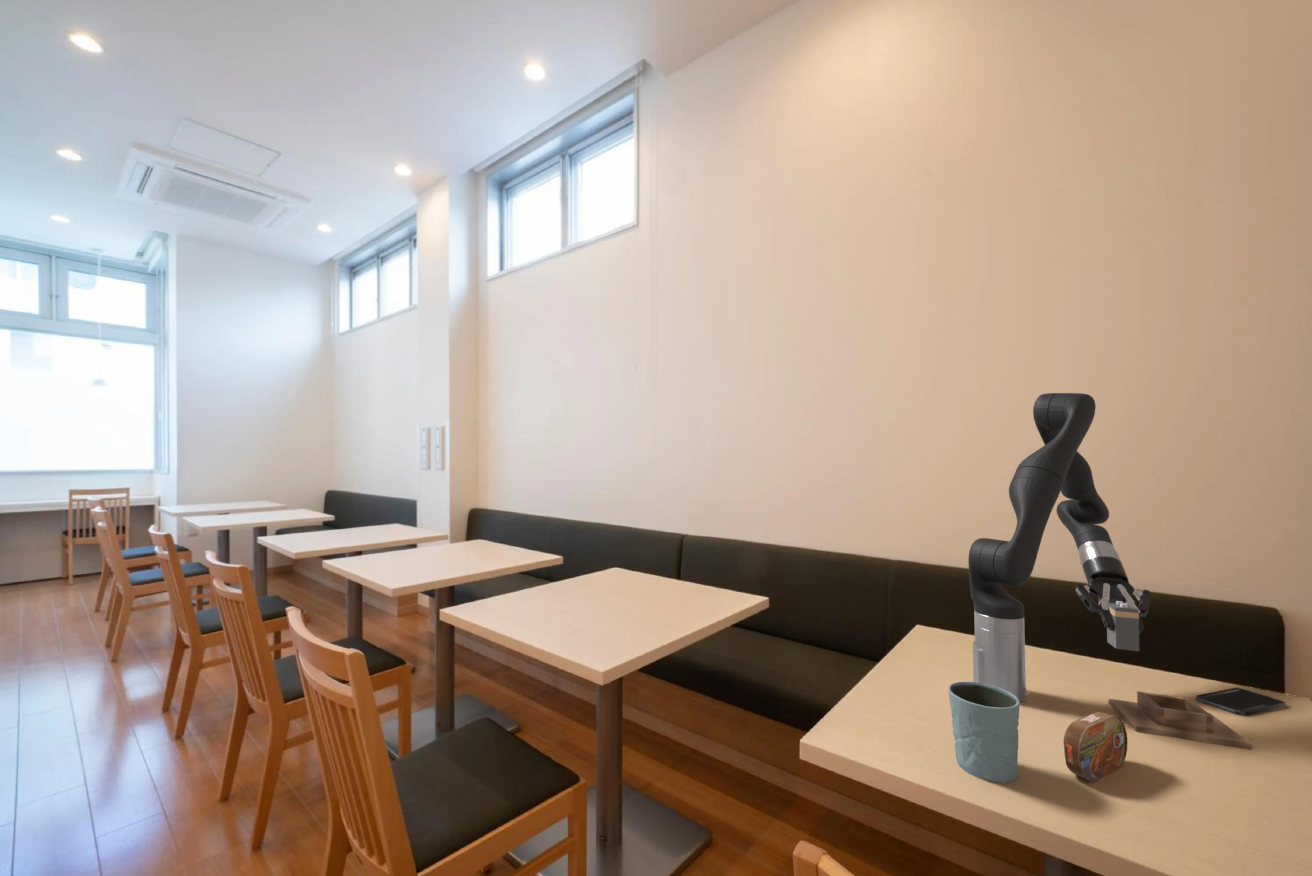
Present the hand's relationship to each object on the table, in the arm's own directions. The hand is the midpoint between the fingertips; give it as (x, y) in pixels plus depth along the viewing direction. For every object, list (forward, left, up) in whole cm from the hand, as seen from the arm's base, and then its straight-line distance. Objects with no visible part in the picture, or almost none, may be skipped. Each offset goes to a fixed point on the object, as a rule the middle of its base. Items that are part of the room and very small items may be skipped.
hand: (1125, 629), depth 115 cm
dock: (+2, -14, -14) cm, 19 cm away
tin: (-18, -38, -14) cm, 44 cm away
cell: (0, +1, -4) cm, 4 cm away
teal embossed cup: (-35, -44, -14) cm, 57 cm away
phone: (+20, +3, -14) cm, 25 cm away
